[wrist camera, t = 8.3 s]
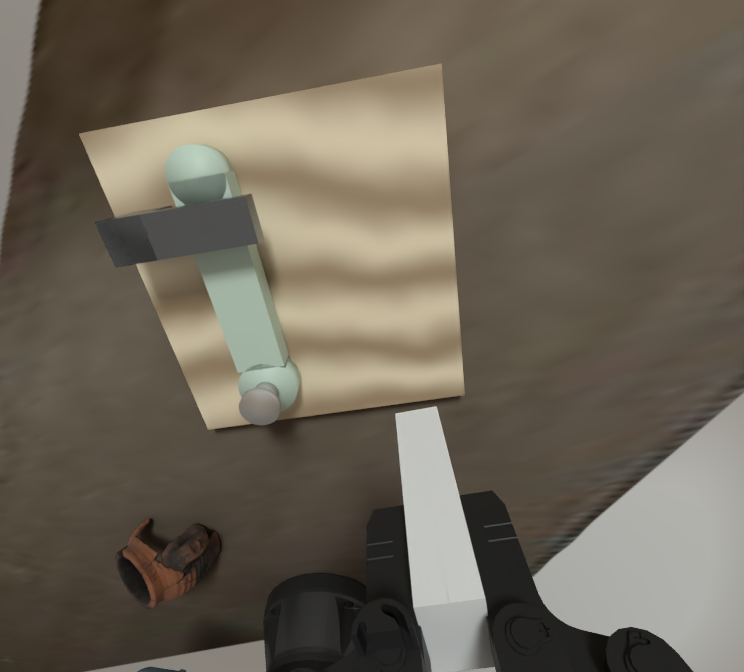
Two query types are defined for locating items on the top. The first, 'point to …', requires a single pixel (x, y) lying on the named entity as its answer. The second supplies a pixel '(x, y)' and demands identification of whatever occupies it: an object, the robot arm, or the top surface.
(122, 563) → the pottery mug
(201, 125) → the base board
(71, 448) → the top surface
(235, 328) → the link
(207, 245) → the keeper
